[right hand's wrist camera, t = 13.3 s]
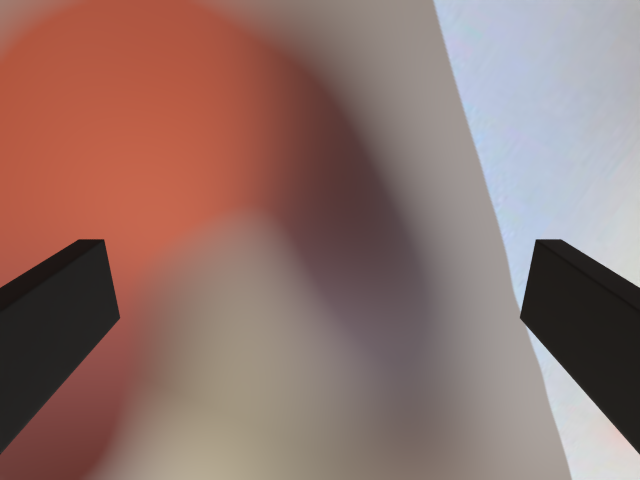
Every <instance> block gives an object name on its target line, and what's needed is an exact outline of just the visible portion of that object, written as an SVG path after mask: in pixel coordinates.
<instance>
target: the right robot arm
mask: <svg viewBox="0 0 640 480" xmlns="http://www.w3.org/2000/svg"><path fill="white" fill-rule="evenodd" d="M119 319H120V315H119V310H118V305H117V300H116V295H115V291H114V286H113V281H112V276H111V271H110V266H109V261H108V256H107V251H106V246H105V242H104V239H79V240H77V241H76V242H74V243H72V244H71V245H69V246H68V247H66V248H64V249H63V250H61V251H59V252H58V253H56V254H55V255H53V256H51V257H50V258H48V259H46V260H45V261H43V262H41V263H40V264H38V265H37V266H35V267H33V268H32V269H30V270H28V271H27V272H25V273H24V274H22V275H20V276H19V277H17V278H16V279H14V280H12V281H11V282H9V283H7V284H6V285H4V286H3V287H1V288H0V454H1V453H2V452H3V451H4V450H5V448H6V447H7V446H8V445H9V444H10V443H11V442H12V440H13V439H14V438H15V437H16V436H17V435H18V434H19V433H20V431H21V430H22V429H23V428H24V427H25V426H26V425H27V423H28V422H29V421H30V420H31V419H32V418H33V417H34V415H35V414H36V413H37V412H38V411H39V410H40V409H41V408H42V406H43V405H44V404H45V403H46V402H47V401H48V400H49V398H50V397H51V396H52V395H53V394H54V393H55V392H56V390H57V389H58V388H59V387H60V386H61V385H62V384H63V383H64V381H65V380H66V379H67V378H68V377H69V376H70V375H71V373H72V372H73V371H74V370H75V369H76V368H77V367H78V365H79V364H80V363H81V362H82V361H83V360H84V359H85V357H86V356H87V355H88V354H89V353H90V352H91V351H92V350H93V348H94V347H95V346H96V345H97V344H98V343H99V342H100V340H101V339H102V338H103V337H104V336H105V335H106V334H107V332H108V331H109V330H110V329H111V328H112V327H113V326H114V325H115V323H116V322H117V321H118V320H119ZM520 319H521V320H522V321H523V322H524V323H525V325H526V326H527V327H528V328H529V329H530V330H531V331H532V332H533V334H534V335H535V336H536V337H537V338H538V339H539V340H540V342H541V343H542V344H543V345H544V346H545V347H546V348H547V350H548V351H549V352H550V353H551V354H552V355H553V356H554V357H555V359H556V360H557V361H558V362H559V363H560V364H561V365H562V367H563V368H564V369H565V370H566V371H567V372H568V373H569V375H570V376H571V377H572V378H573V379H574V380H575V381H576V383H577V384H578V385H579V386H580V387H581V388H582V389H583V390H584V392H585V393H586V394H587V395H588V396H589V397H590V398H591V400H592V401H593V402H594V403H595V404H596V405H597V406H598V408H599V409H600V410H601V411H602V412H603V413H604V414H605V415H606V417H607V418H608V419H609V420H610V421H611V422H612V423H613V425H614V426H615V427H616V428H617V429H618V430H619V431H620V433H621V434H622V435H623V436H624V437H625V438H626V439H627V440H628V442H629V443H630V444H631V445H632V446H633V447H634V448H635V450H636V451H637V452H638V453H639V454H640V288H639V287H637V286H636V285H634V284H633V283H631V282H629V281H628V280H626V279H624V278H623V277H621V276H620V275H618V274H616V273H615V272H613V271H611V270H610V269H608V268H607V267H605V266H603V265H602V264H600V263H599V262H597V261H595V260H594V259H592V258H590V257H589V256H587V255H586V254H584V253H582V252H581V251H579V250H577V249H576V248H574V247H573V246H571V245H569V244H568V243H566V242H564V241H563V240H561V239H536V242H535V246H534V251H533V256H532V261H531V266H530V271H529V276H528V281H527V286H526V290H525V295H524V300H523V305H522V310H521V315H520Z"/></svg>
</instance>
